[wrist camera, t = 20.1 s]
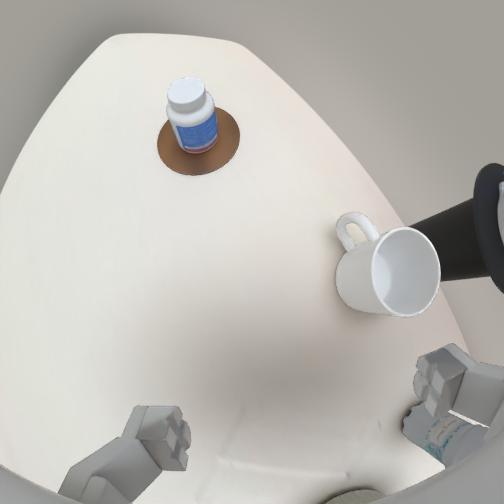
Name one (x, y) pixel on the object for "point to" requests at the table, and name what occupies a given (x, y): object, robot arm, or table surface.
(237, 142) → the coaster
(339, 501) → the canister
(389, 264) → the cup
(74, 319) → the table surface
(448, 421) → the bottle
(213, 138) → the pill bottle
